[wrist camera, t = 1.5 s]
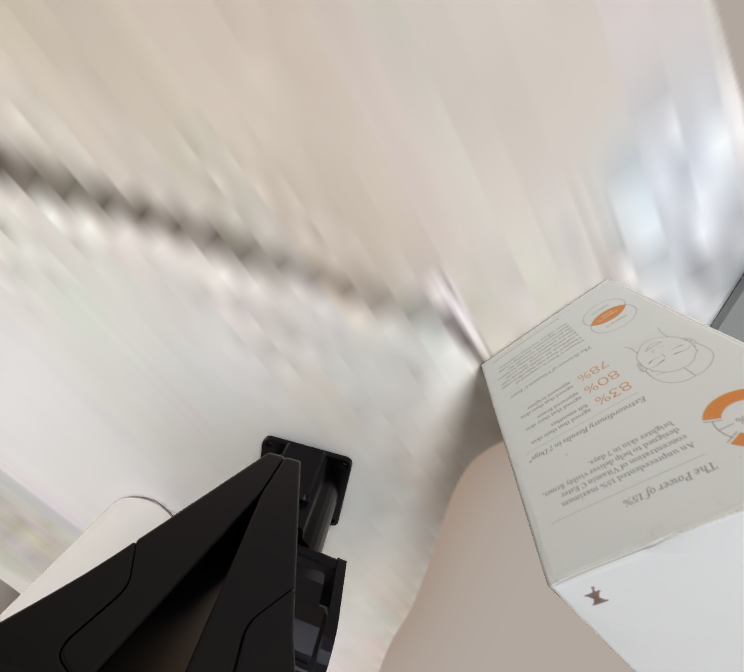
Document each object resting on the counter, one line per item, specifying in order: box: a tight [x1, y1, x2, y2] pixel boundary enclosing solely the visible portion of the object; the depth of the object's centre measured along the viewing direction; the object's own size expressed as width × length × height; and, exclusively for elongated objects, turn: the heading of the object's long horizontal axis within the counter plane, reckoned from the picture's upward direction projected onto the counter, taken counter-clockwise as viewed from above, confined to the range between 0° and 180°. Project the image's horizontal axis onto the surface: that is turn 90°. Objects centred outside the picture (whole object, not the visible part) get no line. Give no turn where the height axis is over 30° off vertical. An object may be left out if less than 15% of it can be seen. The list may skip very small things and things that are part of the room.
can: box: [0, 497, 173, 622], centre depth 26 cm, size 6×6×12 cm
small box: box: [481, 279, 744, 672], centre depth 14 cm, size 8×6×13 cm
